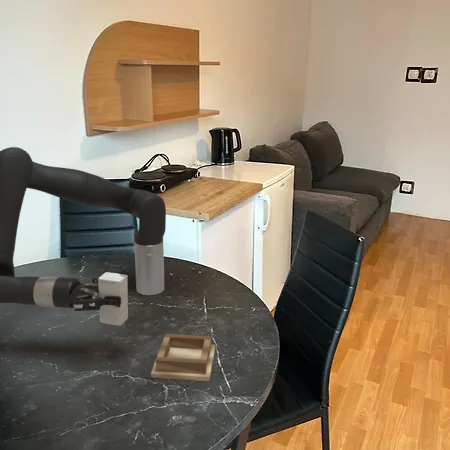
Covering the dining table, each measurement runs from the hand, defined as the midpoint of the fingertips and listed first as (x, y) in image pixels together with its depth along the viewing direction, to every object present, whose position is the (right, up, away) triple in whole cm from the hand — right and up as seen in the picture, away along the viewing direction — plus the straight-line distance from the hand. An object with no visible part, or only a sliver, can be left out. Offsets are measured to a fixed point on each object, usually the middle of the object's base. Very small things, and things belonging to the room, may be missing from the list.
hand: (123, 296), depth 118 cm
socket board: (+15, -17, +2) cm, 23 cm away
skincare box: (-3, -7, +2) cm, 8 cm away
